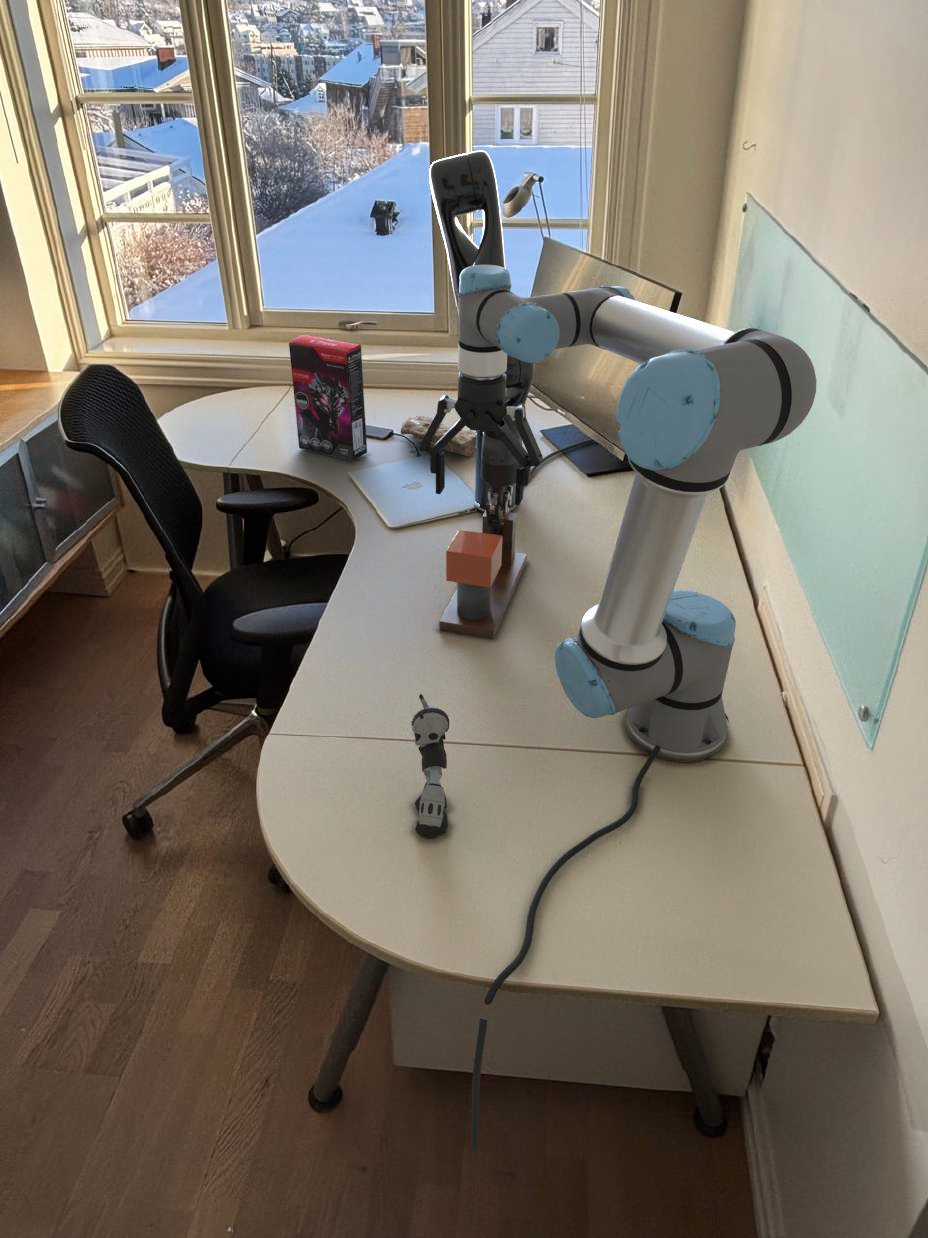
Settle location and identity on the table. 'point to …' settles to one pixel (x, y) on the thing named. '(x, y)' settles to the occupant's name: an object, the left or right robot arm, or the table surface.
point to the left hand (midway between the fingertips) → (498, 537)
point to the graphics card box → (329, 396)
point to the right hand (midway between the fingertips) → (479, 496)
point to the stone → (440, 435)
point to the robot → (431, 769)
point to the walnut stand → (487, 591)
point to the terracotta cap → (474, 558)
